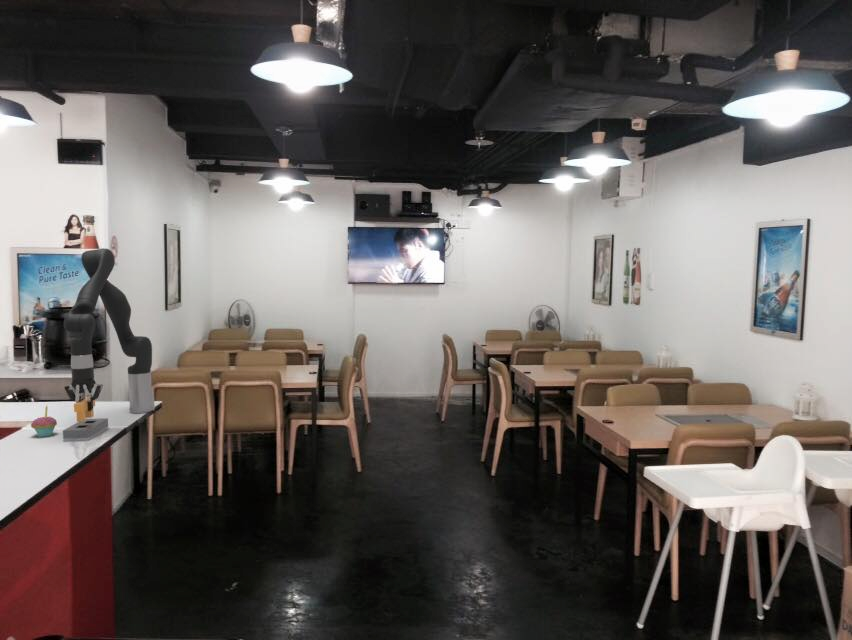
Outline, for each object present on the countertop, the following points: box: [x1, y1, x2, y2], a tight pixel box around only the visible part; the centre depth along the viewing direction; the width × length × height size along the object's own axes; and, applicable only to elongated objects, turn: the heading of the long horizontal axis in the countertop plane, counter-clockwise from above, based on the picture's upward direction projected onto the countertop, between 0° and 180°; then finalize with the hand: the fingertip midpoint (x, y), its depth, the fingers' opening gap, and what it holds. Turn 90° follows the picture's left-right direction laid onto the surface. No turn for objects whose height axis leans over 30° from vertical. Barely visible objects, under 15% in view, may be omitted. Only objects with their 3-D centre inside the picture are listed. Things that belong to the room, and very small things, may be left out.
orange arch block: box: [73, 398, 96, 423], centre depth 253 cm, size 11×3×7 cm, turn 4°
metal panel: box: [62, 418, 109, 442], centre depth 254 cm, size 18×9×4 cm, turn 4°
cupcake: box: [30, 404, 58, 438], centre depth 253 cm, size 9×8×12 cm
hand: (85, 410), depth 253 cm, fingers closed on orange arch block, 3 cm apart
